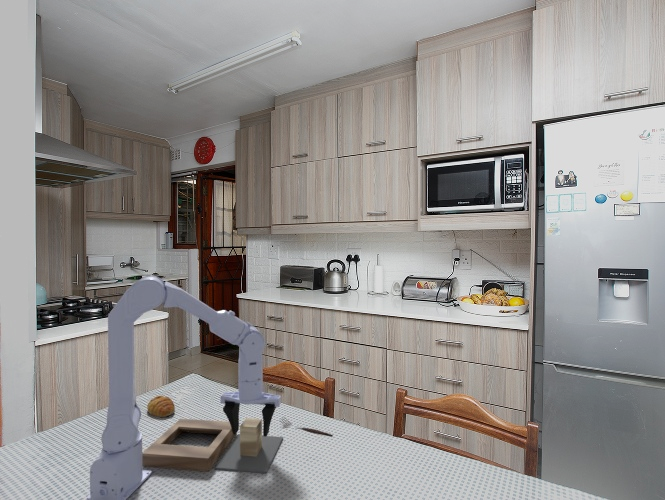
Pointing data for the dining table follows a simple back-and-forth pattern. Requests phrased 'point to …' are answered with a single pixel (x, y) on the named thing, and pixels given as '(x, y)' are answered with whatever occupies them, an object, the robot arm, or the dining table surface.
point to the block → (251, 437)
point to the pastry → (161, 406)
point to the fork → (304, 428)
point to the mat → (250, 463)
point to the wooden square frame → (188, 456)
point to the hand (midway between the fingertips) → (250, 433)
